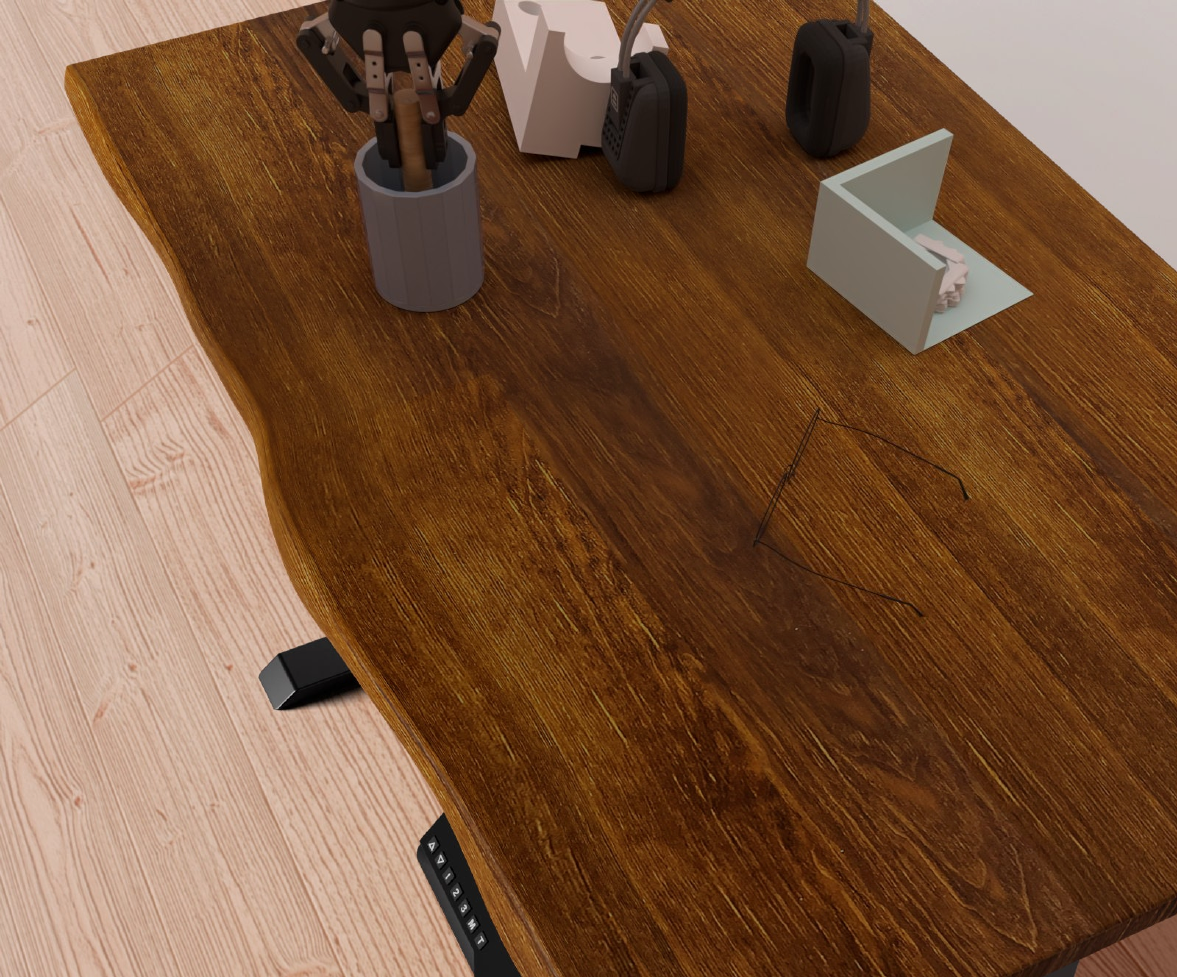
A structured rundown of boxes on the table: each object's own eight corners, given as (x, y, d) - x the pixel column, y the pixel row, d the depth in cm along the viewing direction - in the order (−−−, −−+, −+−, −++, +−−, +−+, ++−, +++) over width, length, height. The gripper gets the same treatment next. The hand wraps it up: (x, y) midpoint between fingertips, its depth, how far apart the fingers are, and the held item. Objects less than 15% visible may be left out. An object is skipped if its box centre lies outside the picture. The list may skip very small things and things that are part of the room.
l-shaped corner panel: (914, 355, 91) (936, 270, 85) (806, 266, 97) (820, 181, 91) (1033, 294, 95) (1063, 209, 89) (923, 212, 101) (943, 128, 95)
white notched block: (632, 165, 107) (668, 48, 99) (520, 151, 104) (548, 29, 96) (590, 53, 118) (621, -60, 110) (488, 38, 115) (511, -80, 107)
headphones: (838, 112, 109) (879, -133, 94) (871, 153, 106) (920, -95, 90) (595, 161, 105) (596, -87, 89) (621, 205, 101) (626, -46, 86)
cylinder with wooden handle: (401, 280, 95) (375, 110, 83) (408, 250, 97) (384, 80, 86) (449, 283, 94) (429, 112, 83) (455, 252, 97) (437, 82, 85)
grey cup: (364, 309, 94) (344, 194, 86) (384, 239, 99) (365, 123, 91) (477, 314, 93) (467, 199, 86) (490, 243, 99) (482, 128, 91)
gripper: (506, -121, 77) (519, 135, 90) (281, -127, 77) (328, 128, 91) (491, -61, 72) (507, 199, 86) (252, -69, 73) (306, 191, 86)
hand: (415, 161), depth 88 cm, fingers closed on cylinder with wooden handle, 2 cm apart
